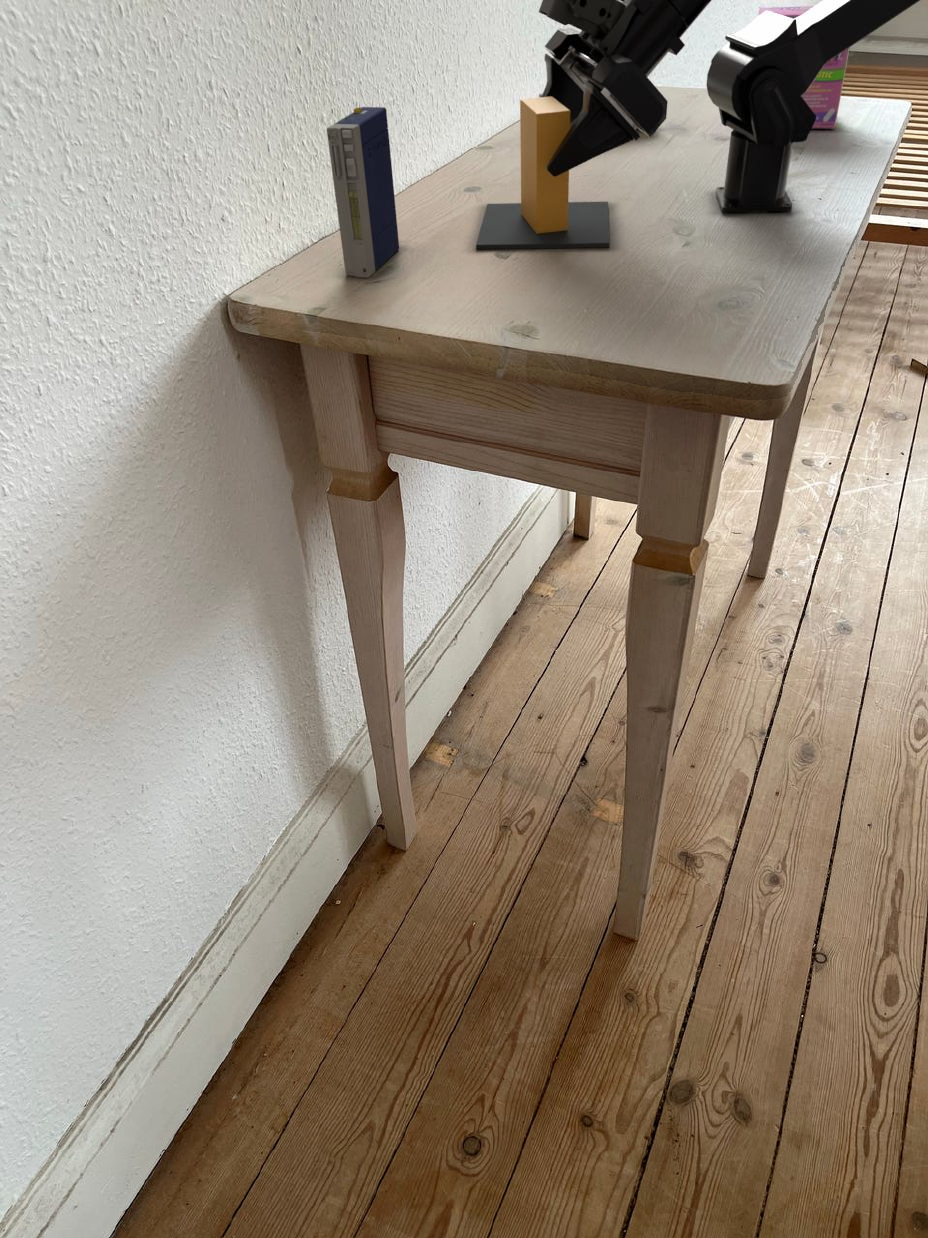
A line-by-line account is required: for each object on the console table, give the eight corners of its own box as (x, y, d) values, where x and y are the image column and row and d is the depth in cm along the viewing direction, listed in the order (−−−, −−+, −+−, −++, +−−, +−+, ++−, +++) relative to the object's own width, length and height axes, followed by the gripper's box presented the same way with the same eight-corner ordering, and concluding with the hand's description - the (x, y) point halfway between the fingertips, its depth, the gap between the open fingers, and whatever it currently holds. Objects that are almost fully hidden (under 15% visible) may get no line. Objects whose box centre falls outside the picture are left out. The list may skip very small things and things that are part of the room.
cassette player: (376, 247, 87) (361, 102, 79) (400, 248, 86) (386, 103, 78) (344, 276, 82) (324, 124, 74) (369, 278, 81) (351, 125, 73)
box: (743, 129, 112) (758, 13, 104) (744, 118, 116) (759, 5, 109) (835, 130, 110) (857, 11, 102) (832, 118, 114) (853, 3, 106)
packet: (550, 210, 91) (552, 95, 85) (567, 230, 87) (570, 110, 80) (521, 214, 91) (519, 98, 84) (536, 233, 86) (536, 113, 80)
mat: (609, 247, 84) (609, 242, 84) (476, 249, 85) (476, 244, 85) (607, 205, 93) (607, 201, 93) (487, 207, 94) (487, 203, 94)
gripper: (568, -82, 82) (452, 74, 88) (639, -65, 68) (495, 119, 74) (648, 16, 88) (534, 156, 94) (728, 50, 74) (589, 212, 80)
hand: (536, 159), depth 85 cm, fingers open, 9 cm apart
